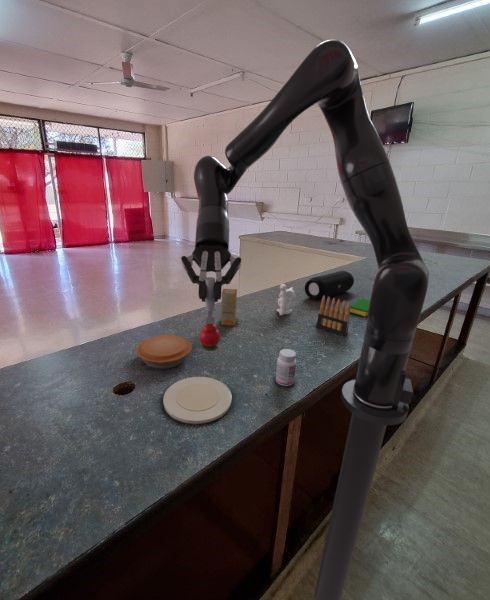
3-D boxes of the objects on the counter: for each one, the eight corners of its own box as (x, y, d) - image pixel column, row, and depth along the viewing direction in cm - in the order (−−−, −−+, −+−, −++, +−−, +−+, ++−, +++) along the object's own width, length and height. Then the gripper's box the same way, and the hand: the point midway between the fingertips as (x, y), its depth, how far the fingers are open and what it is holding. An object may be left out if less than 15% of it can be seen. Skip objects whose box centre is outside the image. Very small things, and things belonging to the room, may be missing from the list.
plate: (241, 389, 78) (241, 386, 78) (214, 433, 65) (214, 429, 64) (185, 373, 84) (185, 370, 84) (149, 410, 70) (149, 407, 70)
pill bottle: (290, 388, 79) (294, 359, 76) (272, 382, 81) (275, 354, 78) (296, 379, 83) (299, 351, 80) (279, 373, 85) (281, 346, 82)
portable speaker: (319, 303, 135) (322, 281, 131) (301, 297, 142) (304, 275, 138) (353, 293, 149) (357, 272, 145) (335, 287, 156) (338, 267, 153)
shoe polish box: (235, 319, 117) (237, 289, 113) (235, 325, 112) (236, 294, 108) (222, 319, 117) (223, 288, 113) (221, 324, 113) (221, 293, 109)
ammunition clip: (347, 334, 108) (353, 301, 104) (345, 335, 107) (351, 302, 103) (318, 324, 115) (322, 293, 111) (316, 326, 113) (320, 295, 109)
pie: (163, 381, 81) (162, 364, 79) (125, 360, 89) (124, 344, 88) (202, 356, 92) (202, 341, 90) (166, 340, 101) (165, 326, 99)
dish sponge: (347, 311, 127) (348, 306, 126) (361, 303, 137) (361, 297, 136) (365, 316, 123) (366, 311, 122) (378, 307, 132) (379, 302, 131)
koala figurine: (282, 318, 120) (285, 288, 115) (269, 312, 125) (272, 283, 120) (297, 313, 125) (300, 284, 120) (284, 307, 130) (287, 279, 125)
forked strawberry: (219, 341, 73) (220, 275, 68) (221, 351, 69) (222, 281, 63) (199, 342, 73) (198, 275, 67) (200, 352, 68) (199, 282, 63)
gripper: (180, 219, 68) (173, 291, 61) (244, 221, 68) (244, 293, 61) (184, 240, 75) (178, 307, 68) (241, 241, 75) (242, 308, 68)
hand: (209, 300), depth 65 cm, fingers closed on forked strawberry
